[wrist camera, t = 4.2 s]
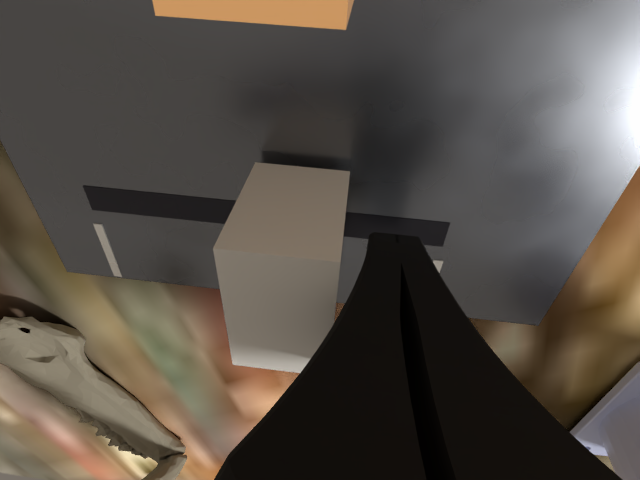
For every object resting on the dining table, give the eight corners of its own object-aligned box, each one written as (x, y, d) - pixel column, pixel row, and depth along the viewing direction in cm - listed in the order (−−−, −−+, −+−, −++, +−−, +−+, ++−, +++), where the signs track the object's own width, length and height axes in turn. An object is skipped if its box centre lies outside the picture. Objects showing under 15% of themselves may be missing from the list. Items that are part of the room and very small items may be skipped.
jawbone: (138, 369, 31) (-92, 329, 19) (220, 340, 30) (32, 275, 17) (140, 593, 25) (-221, 771, 12) (245, 568, 23) (-34, 740, 10)
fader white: (350, 171, 10) (340, 262, 8) (338, 279, 13) (328, 376, 10) (255, 162, 10) (212, 248, 8) (262, 271, 13) (233, 364, 10)
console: (955, -483, 5) (1125, -599, 4) (525, 293, 15) (538, 326, 14) (-225, -484, 6) (-367, -578, 5) (90, 245, 16) (66, 272, 15)
